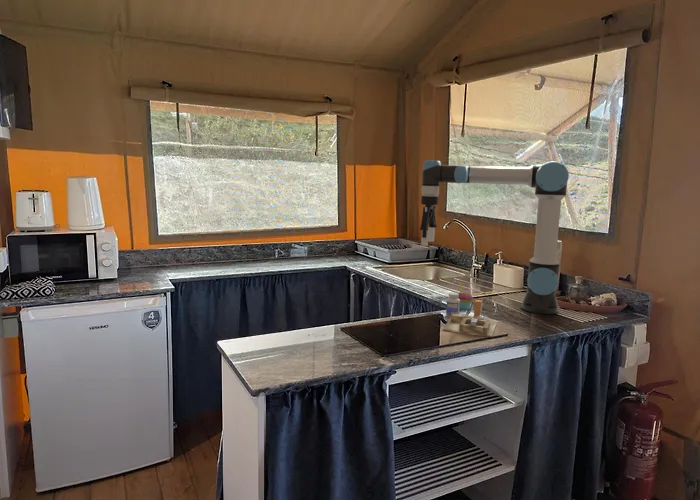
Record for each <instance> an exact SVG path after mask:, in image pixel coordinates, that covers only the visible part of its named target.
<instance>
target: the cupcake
mask: <svg viewBox="0 0 700 500" xmlns="http://www.w3.org/2000/svg"><path fill="white" fill-rule="evenodd" d="M462 289H463V288H462V283H461V282H459V292H457V293H458V294H459V297H458V299H460V309H459V310H468V309H469V307H470V304H471V303H473V302H474V297H473V296H472V294H470V293H469V292H463V290H462Z"/></svg>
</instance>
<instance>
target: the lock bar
mask: <svg viewBox="0 0 700 500" xmlns="http://www.w3.org/2000/svg"><path fill="white" fill-rule="evenodd" d="M473 307H474V308H473V309H474V310H473V315H472V316H473V318H472V320H471V324H470V325H471V326H476V325H477V323H478V321H479V318H480V317H481V315H482V307H483V299H482V300H481V299H480V300H479V299H475V300H474V306H473Z"/></svg>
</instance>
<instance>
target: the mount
mask: <svg viewBox="0 0 700 500" xmlns="http://www.w3.org/2000/svg"><path fill="white" fill-rule="evenodd" d="M473 316H474V315H466V314H465V315H464V314H460V313H459V314H452V315H451V317H449V320H448V321H447V322H446V323H445V325H444V327H443V328H442V331H443V332H449V333H450V332H451V333H457V334H458V333H459V334H465V335H473V336H479V337H487V338H493V336H494V333H495V329H496V327H497V323H493V322H491V321H490V320H487V319H486V320H485V317H481V316H480V318H479V321H478V323H477V325H476V326H471V325H470V324H471V320H472V318H473Z"/></svg>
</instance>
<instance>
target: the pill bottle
mask: <svg viewBox="0 0 700 500" xmlns="http://www.w3.org/2000/svg"><path fill="white" fill-rule="evenodd" d="M458 293H459V292H449V293H448V297H447V299H446V307H445V308H446V309H445V310H446V311H445V316H446V317H448V318H451V315H452V314H459V315H460V310H461V309H460V299H458V297H459V294H458Z"/></svg>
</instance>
